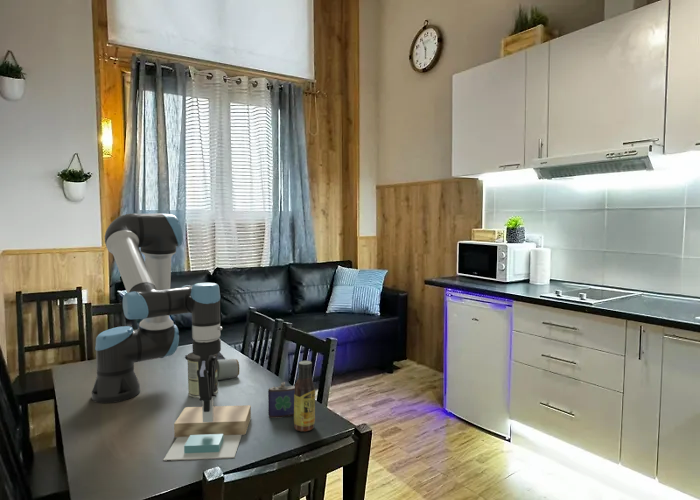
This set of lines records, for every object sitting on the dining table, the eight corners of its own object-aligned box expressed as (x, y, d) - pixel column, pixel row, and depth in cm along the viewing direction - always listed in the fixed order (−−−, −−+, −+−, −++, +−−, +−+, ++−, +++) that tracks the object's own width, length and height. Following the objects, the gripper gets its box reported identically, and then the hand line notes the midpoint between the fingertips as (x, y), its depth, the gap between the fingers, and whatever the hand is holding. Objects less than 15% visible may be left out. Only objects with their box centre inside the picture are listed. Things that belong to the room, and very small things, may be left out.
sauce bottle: (306, 434, 128) (306, 367, 127) (289, 429, 131) (289, 363, 130) (319, 426, 134) (319, 361, 132) (303, 421, 137) (302, 358, 135)
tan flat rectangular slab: (174, 437, 126) (174, 423, 126) (185, 419, 137) (185, 407, 137) (245, 434, 128) (245, 421, 128) (250, 417, 139) (250, 405, 139)
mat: (163, 460, 114) (163, 459, 114) (177, 437, 126) (177, 436, 126) (234, 457, 116) (234, 456, 115) (241, 435, 127) (241, 434, 127)
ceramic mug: (240, 379, 172) (240, 359, 172) (219, 382, 168) (218, 362, 168) (233, 371, 182) (233, 353, 181) (213, 374, 178) (212, 355, 177)
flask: (297, 412, 143) (296, 379, 142) (298, 415, 140) (297, 383, 140) (268, 414, 141) (267, 382, 140) (268, 419, 138) (268, 385, 137)
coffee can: (202, 385, 166) (201, 348, 165) (224, 389, 162) (223, 351, 161) (181, 395, 157) (180, 356, 156) (203, 400, 152) (202, 360, 151)
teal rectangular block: (190, 435, 123) (190, 441, 123) (184, 446, 117) (184, 453, 117) (223, 433, 124) (223, 440, 124) (218, 444, 118) (218, 451, 118)
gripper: (215, 345, 117) (216, 431, 119) (225, 332, 130) (226, 410, 132) (186, 345, 116) (188, 432, 118) (198, 333, 129) (200, 411, 131)
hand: (208, 420), depth 125 cm, fingers closed
